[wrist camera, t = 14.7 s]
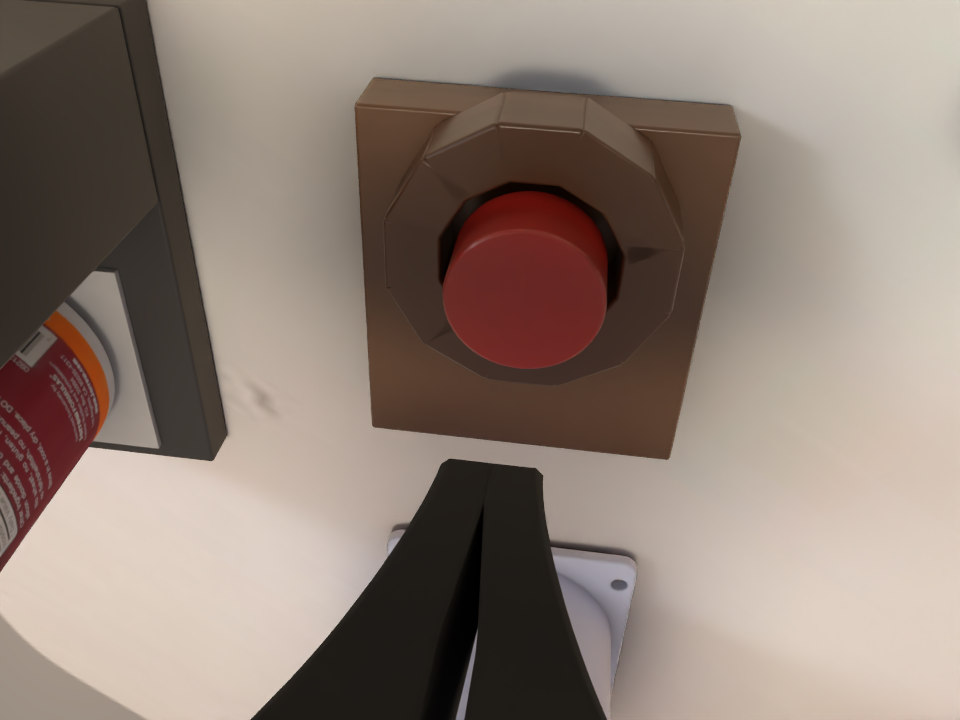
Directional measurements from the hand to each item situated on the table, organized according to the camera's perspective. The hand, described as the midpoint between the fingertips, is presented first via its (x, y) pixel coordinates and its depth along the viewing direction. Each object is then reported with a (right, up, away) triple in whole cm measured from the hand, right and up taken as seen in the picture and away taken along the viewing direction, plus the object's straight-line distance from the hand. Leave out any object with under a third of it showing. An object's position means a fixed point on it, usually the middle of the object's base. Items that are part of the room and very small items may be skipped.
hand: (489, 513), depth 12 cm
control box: (+1, +5, +10) cm, 11 cm away
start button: (+1, +4, +6) cm, 7 cm away
